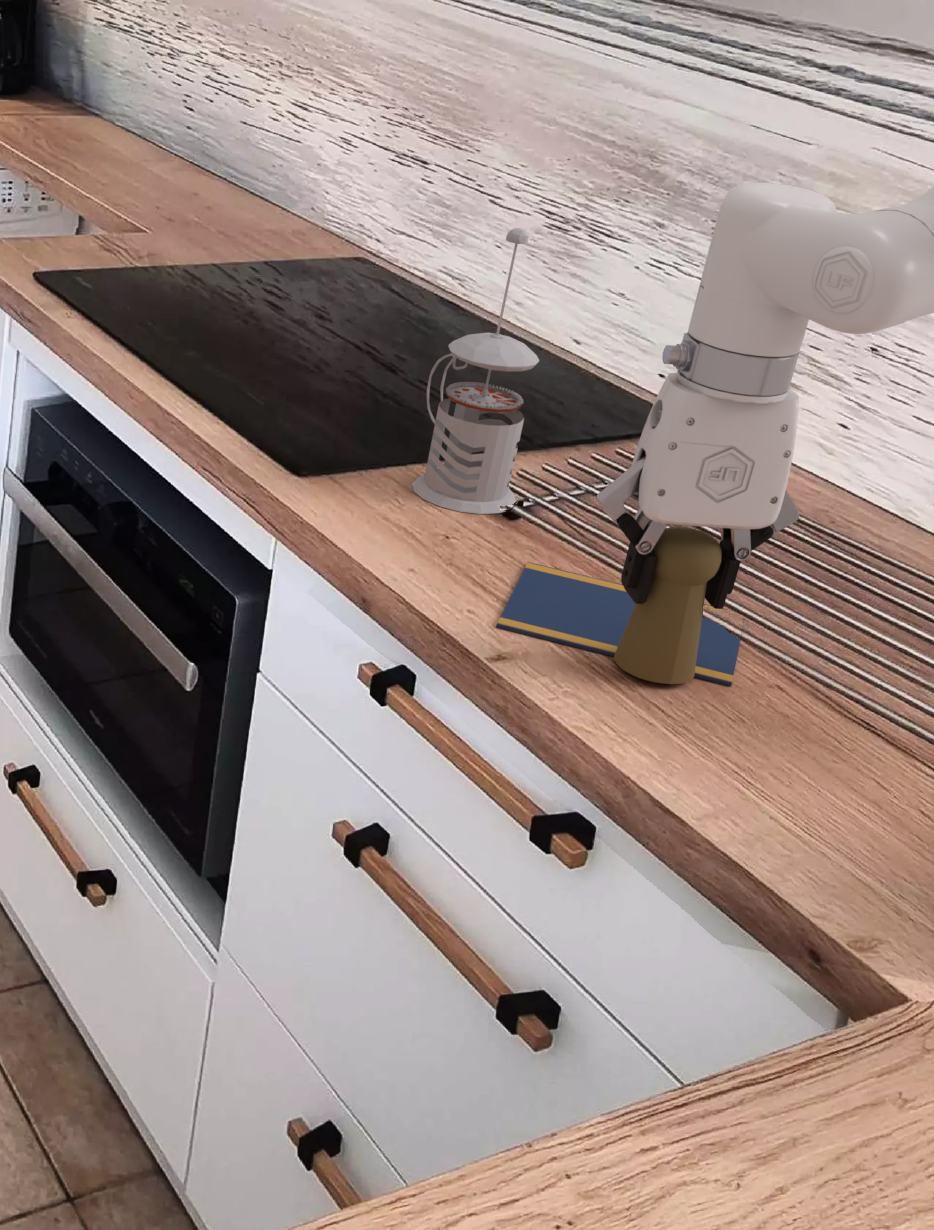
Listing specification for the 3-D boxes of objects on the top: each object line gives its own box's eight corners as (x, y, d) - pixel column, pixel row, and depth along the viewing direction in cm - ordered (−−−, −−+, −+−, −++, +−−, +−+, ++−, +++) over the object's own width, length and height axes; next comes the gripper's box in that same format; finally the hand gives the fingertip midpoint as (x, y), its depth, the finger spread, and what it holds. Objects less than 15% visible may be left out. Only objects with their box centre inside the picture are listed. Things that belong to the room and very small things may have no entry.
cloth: (744, 616, 142) (745, 613, 142) (731, 686, 131) (732, 682, 131) (526, 564, 148) (527, 561, 148) (495, 627, 137) (496, 623, 136)
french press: (458, 519, 156) (515, 246, 144) (378, 473, 165) (426, 211, 153) (539, 506, 160) (600, 240, 149) (457, 462, 169) (509, 207, 158)
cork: (610, 641, 135) (644, 512, 130) (690, 654, 134) (727, 524, 129) (616, 676, 130) (652, 542, 124) (699, 689, 129) (738, 556, 124)
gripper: (634, 375, 117) (575, 614, 125) (877, 392, 118) (803, 628, 126) (600, 341, 124) (547, 570, 132) (831, 358, 125) (763, 584, 133)
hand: (673, 596), depth 129 cm, fingers closed on cork, 5 cm apart
